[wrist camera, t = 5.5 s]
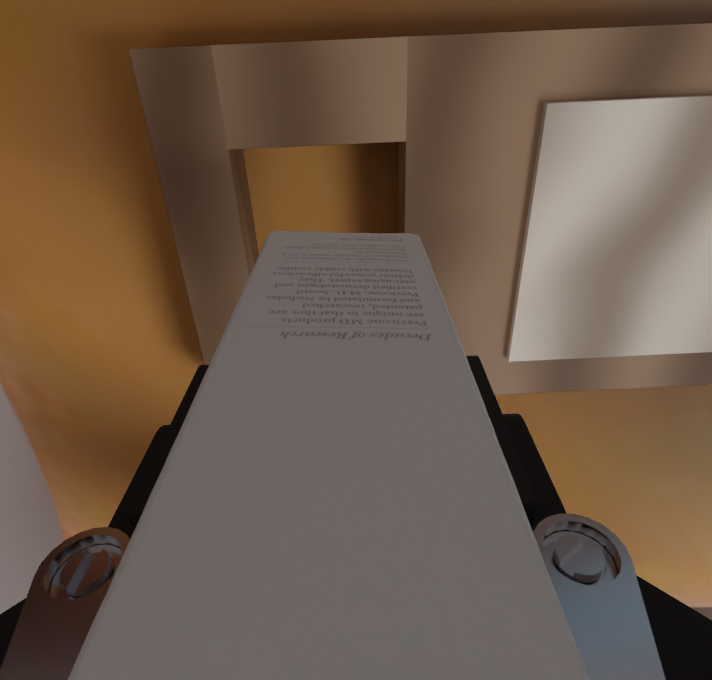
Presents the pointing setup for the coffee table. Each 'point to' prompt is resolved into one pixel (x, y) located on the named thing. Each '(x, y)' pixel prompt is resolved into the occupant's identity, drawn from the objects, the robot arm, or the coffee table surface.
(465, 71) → the walnut frame
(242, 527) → the skincare box
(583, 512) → the coffee table surface
